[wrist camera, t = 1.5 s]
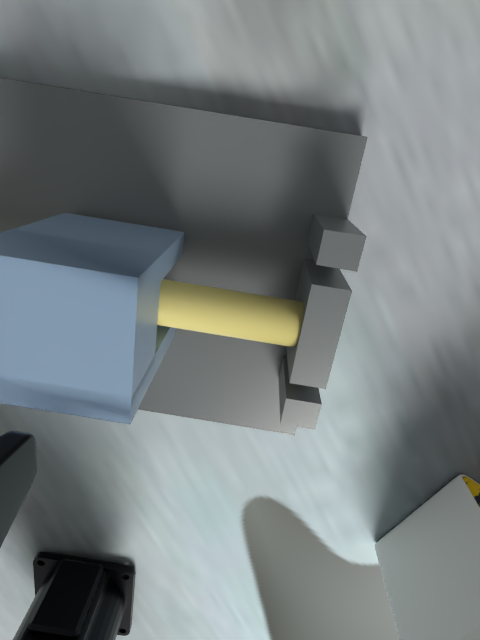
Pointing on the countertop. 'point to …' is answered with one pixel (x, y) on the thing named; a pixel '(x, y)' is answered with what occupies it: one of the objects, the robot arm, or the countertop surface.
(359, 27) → the countertop surface
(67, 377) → the sleeve
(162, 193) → the sliding rail with carriage
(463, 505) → the medicine bottle
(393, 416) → the countertop surface
